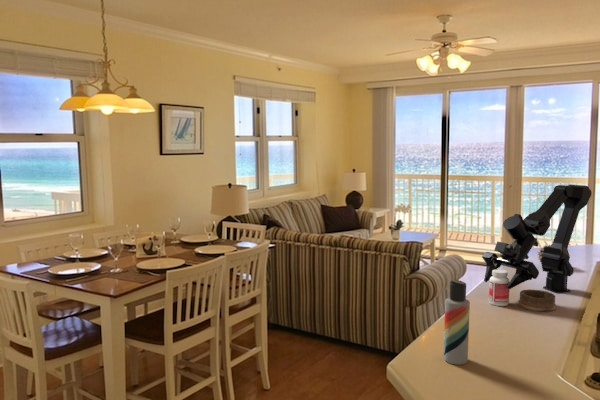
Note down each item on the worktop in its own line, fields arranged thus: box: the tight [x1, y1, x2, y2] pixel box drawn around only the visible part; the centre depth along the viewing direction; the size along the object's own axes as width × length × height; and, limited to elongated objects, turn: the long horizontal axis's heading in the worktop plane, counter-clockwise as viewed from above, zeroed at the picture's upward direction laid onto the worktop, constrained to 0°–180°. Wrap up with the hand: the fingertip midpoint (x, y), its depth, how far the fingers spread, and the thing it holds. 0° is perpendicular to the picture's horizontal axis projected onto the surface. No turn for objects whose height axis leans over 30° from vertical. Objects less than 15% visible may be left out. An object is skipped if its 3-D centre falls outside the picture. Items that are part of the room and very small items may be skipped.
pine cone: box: [537, 244, 551, 263], centre depth 213 cm, size 22×10×10 cm, turn 154°
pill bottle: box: [488, 268, 511, 307], centre depth 163 cm, size 6×6×11 cm
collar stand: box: [517, 289, 557, 313], centre depth 161 cm, size 11×11×4 cm
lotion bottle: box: [443, 279, 471, 366], centre depth 121 cm, size 6×6×20 cm
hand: (496, 284), depth 163 cm, fingers open, 9 cm apart
